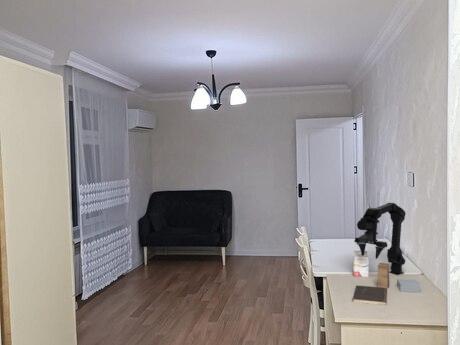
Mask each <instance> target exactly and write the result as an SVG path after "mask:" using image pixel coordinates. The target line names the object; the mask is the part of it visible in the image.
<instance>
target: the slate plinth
mask: <svg viewBox="0 0 460 345" xmlns="http://www.w3.org/2000/svg"><path fill="white" fill-rule="evenodd" d="M396 287H397V289H398V290H399V292H401V293H421V284H420V282H418V280H417V279H407V278H406V279H405V278H404V279H403V278H400V279H399V278H397V279H396Z"/></svg>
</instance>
